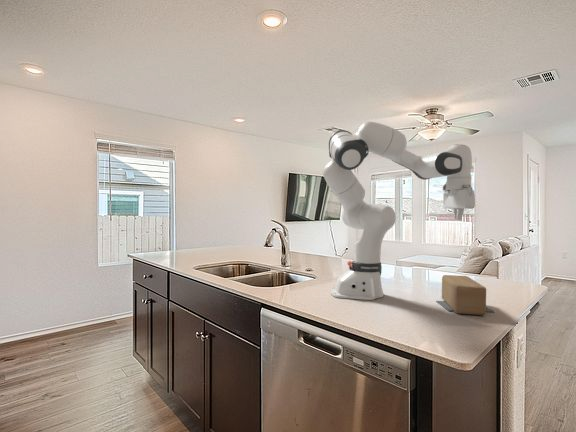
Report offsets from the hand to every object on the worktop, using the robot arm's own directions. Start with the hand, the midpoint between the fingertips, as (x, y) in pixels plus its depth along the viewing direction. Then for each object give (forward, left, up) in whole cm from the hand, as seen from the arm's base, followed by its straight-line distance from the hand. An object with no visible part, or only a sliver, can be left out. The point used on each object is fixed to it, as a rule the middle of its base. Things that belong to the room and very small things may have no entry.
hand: (457, 219), depth 134 cm
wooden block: (-1, 0, -28) cm, 28 cm away
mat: (-1, -9, -33) cm, 34 cm away
